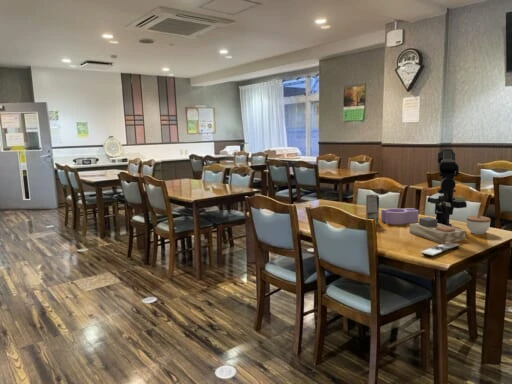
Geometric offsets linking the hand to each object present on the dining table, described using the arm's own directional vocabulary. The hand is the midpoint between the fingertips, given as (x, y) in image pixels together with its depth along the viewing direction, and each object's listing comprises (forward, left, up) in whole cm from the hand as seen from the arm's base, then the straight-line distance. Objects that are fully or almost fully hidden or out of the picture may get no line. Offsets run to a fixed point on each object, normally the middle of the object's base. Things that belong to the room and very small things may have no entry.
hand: (445, 219), depth 187 cm
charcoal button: (0, -11, -6) cm, 13 cm away
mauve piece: (-5, -38, -10) cm, 39 cm away
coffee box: (+12, -42, -10) cm, 44 cm away
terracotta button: (0, 0, -8) cm, 8 cm away
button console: (0, -6, -10) cm, 11 cm away
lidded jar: (-23, -2, -10) cm, 25 cm away
